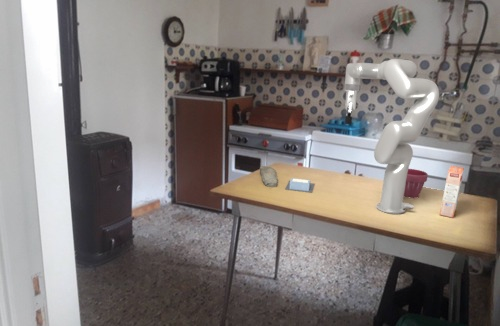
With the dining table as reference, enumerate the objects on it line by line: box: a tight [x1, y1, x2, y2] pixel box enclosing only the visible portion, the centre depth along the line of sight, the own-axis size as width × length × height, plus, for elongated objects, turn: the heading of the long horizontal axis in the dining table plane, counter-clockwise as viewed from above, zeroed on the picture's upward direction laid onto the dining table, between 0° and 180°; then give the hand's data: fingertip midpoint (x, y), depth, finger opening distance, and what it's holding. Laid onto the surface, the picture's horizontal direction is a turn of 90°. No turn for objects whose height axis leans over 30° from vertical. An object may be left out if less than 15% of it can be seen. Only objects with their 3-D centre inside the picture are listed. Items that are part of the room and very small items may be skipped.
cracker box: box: [439, 165, 465, 219], centre depth 176 cm, size 14×6×21 cm, turn 148°
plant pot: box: [404, 168, 429, 199], centre depth 200 cm, size 14×14×13 cm
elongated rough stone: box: [259, 165, 279, 188], centre depth 219 cm, size 35×5×10 cm
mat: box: [284, 180, 316, 193], centre depth 206 cm, size 14×16×1 cm
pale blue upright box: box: [289, 177, 311, 191], centre depth 202 cm, size 10×4×7 cm
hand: (348, 123), depth 202 cm, fingers closed
